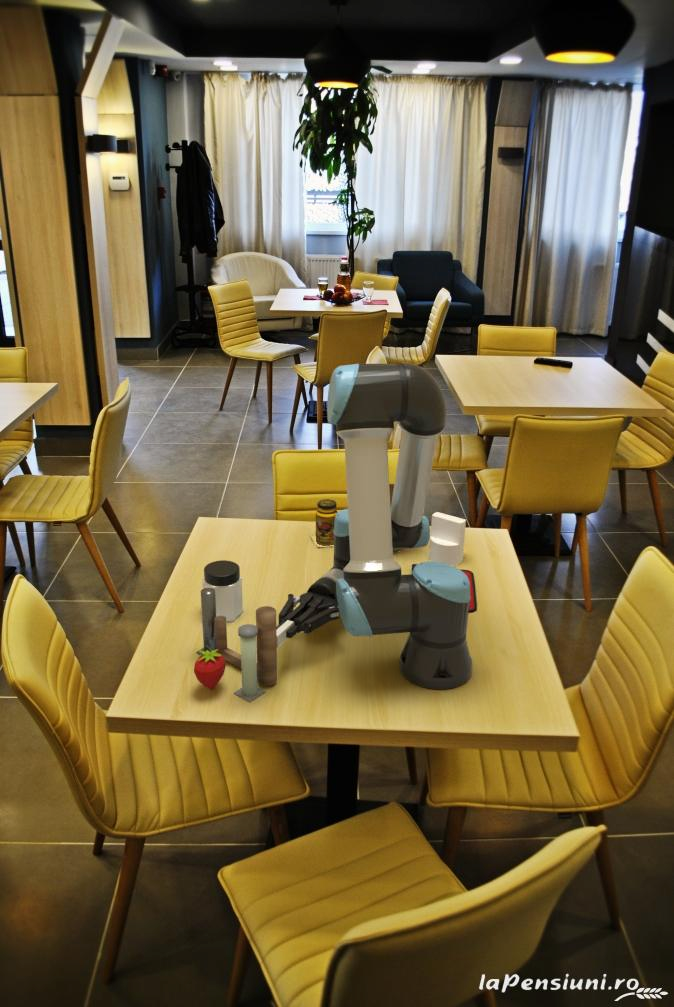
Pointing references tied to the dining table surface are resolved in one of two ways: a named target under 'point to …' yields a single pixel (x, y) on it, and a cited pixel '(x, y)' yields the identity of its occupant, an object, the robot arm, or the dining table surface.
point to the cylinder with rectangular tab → (447, 539)
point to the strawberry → (209, 668)
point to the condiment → (325, 522)
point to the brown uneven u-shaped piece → (264, 644)
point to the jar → (225, 587)
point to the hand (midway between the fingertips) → (274, 641)
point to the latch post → (248, 663)
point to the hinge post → (208, 619)
